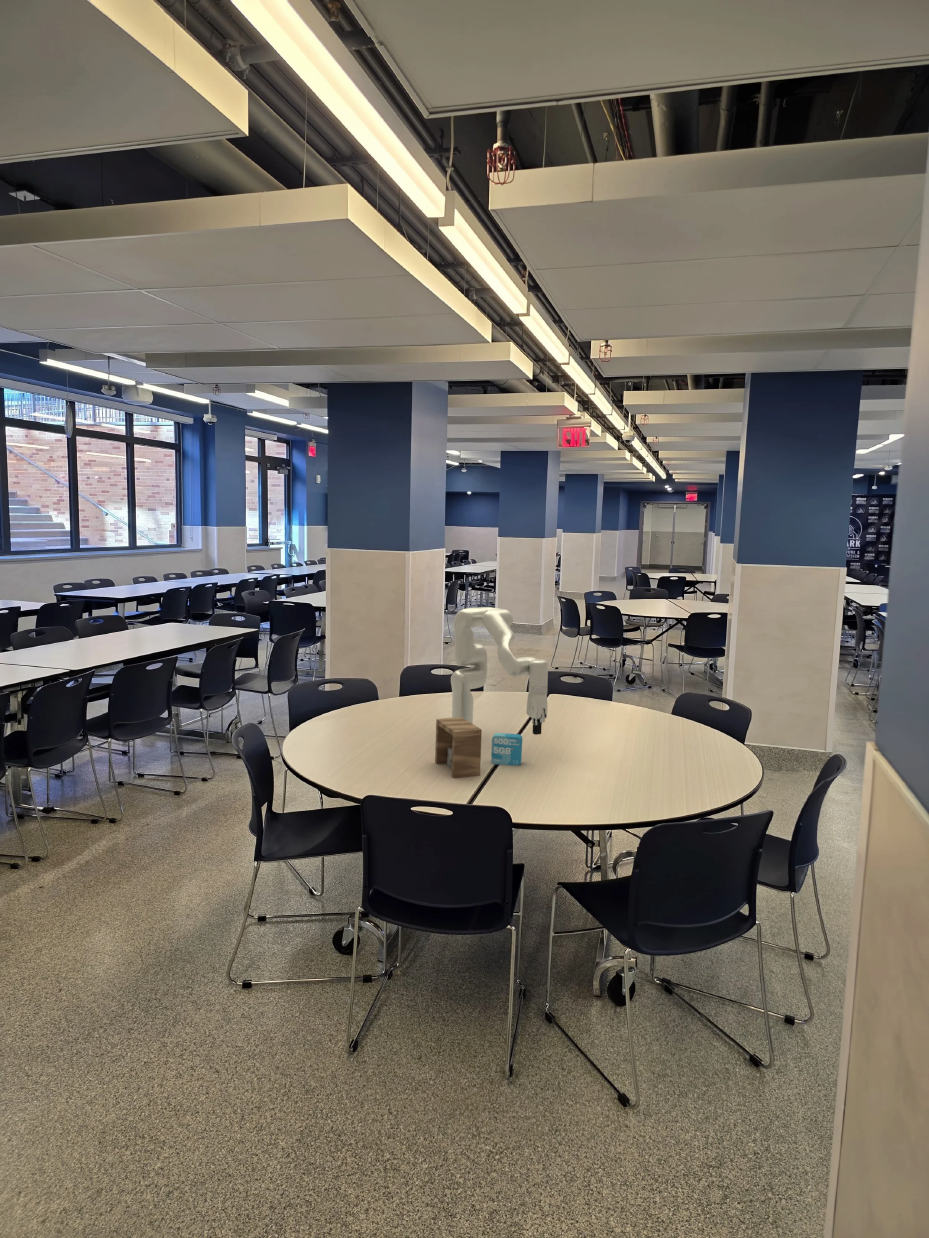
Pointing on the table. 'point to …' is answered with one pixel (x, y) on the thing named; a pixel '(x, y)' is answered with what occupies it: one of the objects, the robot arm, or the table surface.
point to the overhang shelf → (458, 746)
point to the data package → (506, 749)
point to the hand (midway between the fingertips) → (536, 733)
